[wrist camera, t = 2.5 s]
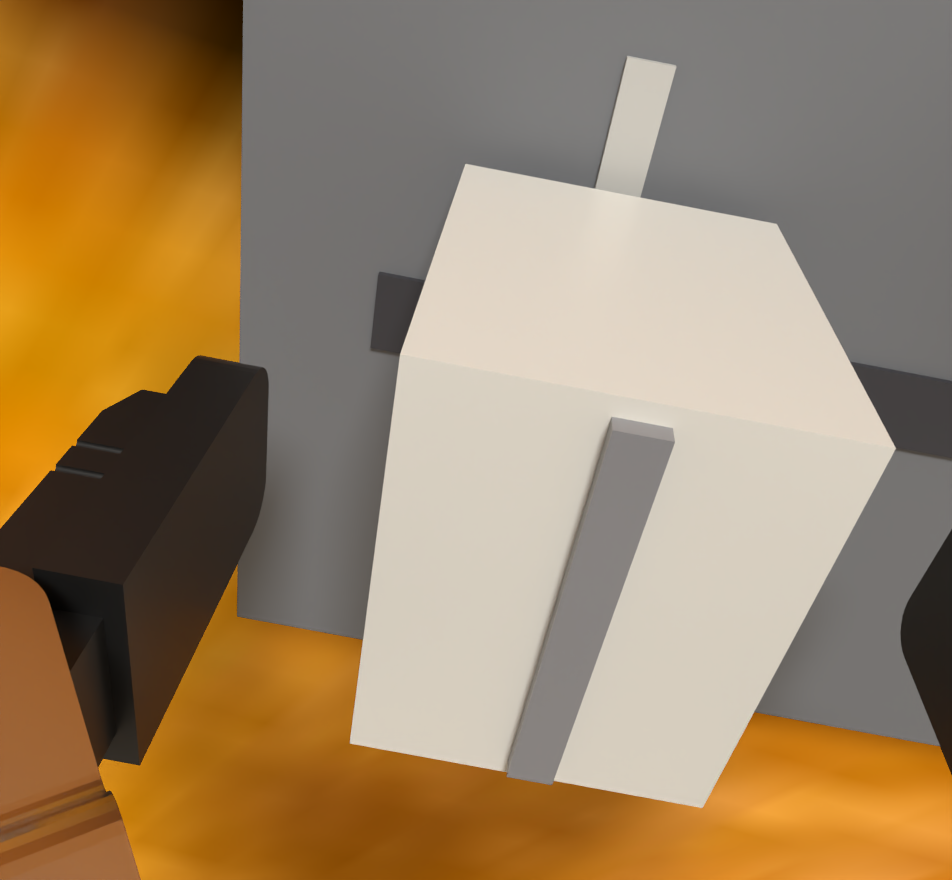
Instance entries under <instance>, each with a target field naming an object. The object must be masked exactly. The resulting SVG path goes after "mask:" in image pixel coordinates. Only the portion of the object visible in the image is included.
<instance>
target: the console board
mask: <svg viewBox="0 0 952 880" xmlns="http://www.w3.org/2000/svg"><path fill="white" fill-rule="evenodd" d="M465 164H469V165H475V166H480V167H485V168H490V169H495V170H501V171H506V172H511V173H516V174H521V175H526V176H532V177H537V178H542V179H547V180H552V181H557V182H563V183H568V184H573V185H578V186H583V187H588V188H594V189H599V190H604V191H609V192H614V193H620V194H625V195H630V196H635V197H640V198H645V199H651V200H656V201H661V202H666V203H671V204H676V205H682V206H687V207H692V208H697V209H702V210H707V211H713V212H718V213H723V214H728V215H733V216H739V217H744V218H749V219H754V220H759V221H764V222H770V223H775V224H777V225H778V227H779V229H780V231H781V233H782V235H783V237H784V238H785V240H786V242H787V244H788V246H789V248H790V250H791V252H792V254H793V255H794V257H795V259H796V261H797V263H798V265H799V267H800V269H801V270H802V272H803V274H804V276H805V278H806V280H807V282H808V284H809V286H810V287H811V289H812V291H813V293H814V295H815V297H816V299H817V301H818V302H819V304H820V306H821V308H822V310H823V312H824V314H825V316H826V318H827V319H828V321H829V323H830V325H831V327H832V329H833V331H834V333H835V335H836V336H837V338H838V340H839V342H840V344H841V346H842V348H843V350H844V351H845V353H846V355H847V357H848V359H849V361H850V363H851V365H852V367H853V368H854V370H855V372H856V374H857V376H858V378H859V380H860V382H861V383H862V385H863V387H864V389H865V391H866V393H867V395H868V397H869V399H870V400H871V402H872V404H873V406H874V408H875V410H876V412H877V414H878V415H879V417H880V419H881V421H882V423H883V425H884V427H885V429H886V431H887V432H888V434H889V436H890V438H891V440H892V442H893V444H894V446H895V448H896V449H895V451H894V453H893V455H892V457H891V459H890V461H889V462H888V464H887V466H886V468H885V470H884V472H883V474H882V475H881V477H880V479H879V481H878V483H877V485H876V487H875V488H874V490H873V492H872V494H871V496H870V498H869V500H868V501H867V503H866V505H865V507H864V509H863V511H862V513H861V514H860V516H859V518H858V520H857V522H856V524H855V526H854V527H853V529H852V531H851V533H850V535H849V537H848V539H847V540H846V542H845V544H844V546H843V548H842V550H841V552H840V553H839V555H838V557H837V559H836V561H835V563H834V565H833V566H832V568H831V570H830V572H829V574H828V576H827V578H826V579H825V581H824V583H823V585H822V587H821V589H820V591H819V592H818V594H817V596H816V598H815V600H814V602H813V604H812V605H811V607H810V609H809V611H808V613H807V615H806V617H805V618H804V620H803V622H802V624H801V626H800V628H799V630H798V631H797V633H796V635H795V637H794V639H793V641H792V643H791V644H790V646H789V648H788V650H787V652H786V654H785V656H784V657H783V659H782V661H781V663H780V665H779V667H778V669H777V670H776V672H775V674H774V676H773V678H772V680H771V682H770V683H769V685H768V687H767V689H766V691H765V693H764V695H763V696H762V698H761V700H760V702H759V704H758V706H757V708H756V709H755V711H754V712H757V713H763V714H768V715H773V716H779V717H784V718H790V719H795V720H801V721H806V722H811V723H817V724H822V725H828V726H833V727H838V728H844V729H849V730H855V731H860V732H865V733H871V734H876V735H882V736H887V737H893V738H898V739H903V740H909V741H914V742H920V743H925V744H930V745H936V746H940V745H939V742H938V740H937V737H936V735H935V732H934V730H933V727H932V725H931V722H930V720H929V717H928V715H927V712H926V710H925V707H924V705H923V702H922V700H921V698H920V695H919V693H918V690H917V688H916V685H915V683H914V680H913V678H912V675H911V673H910V670H909V668H908V665H907V663H906V660H905V658H904V655H903V652H902V647H901V637H900V631H901V622H902V616H903V613H904V609H905V607H906V604H907V602H908V600H909V598H910V597H911V595H912V593H913V592H914V590H915V589H916V587H917V585H918V584H919V582H920V580H921V579H922V577H923V575H924V574H925V572H926V571H927V569H928V567H929V566H930V564H931V562H932V561H933V559H934V557H935V556H936V554H937V552H938V551H939V549H940V548H941V546H942V544H943V543H944V541H945V539H946V538H947V536H948V534H949V533H950V531H951V529H952V0H243V82H242V184H241V286H240V363H243V364H248V365H253V366H259V367H263V368H265V369H266V371H267V373H268V380H269V398H268V431H267V464H266V484H265V491H264V497H263V502H262V506H261V510H260V514H259V517H258V520H257V523H256V526H255V528H254V531H253V533H252V535H251V537H250V539H249V541H248V543H247V545H246V547H245V549H244V552H243V554H242V556H241V558H240V560H239V562H238V591H237V616H238V617H243V618H248V619H254V620H259V621H265V622H270V623H275V624H281V625H286V626H292V627H297V628H303V629H308V630H313V631H319V632H324V633H330V634H335V635H340V636H346V637H351V638H357V639H362V640H363V636H364V629H365V621H366V613H367V606H368V598H369V590H370V582H371V575H372V567H373V559H374V552H375V544H376V536H377V528H378V521H379V513H380V505H381V498H382V490H383V482H384V474H385V467H386V459H387V451H388V444H389V436H390V428H391V420H392V413H393V405H394V397H395V390H396V382H397V374H398V366H399V359H400V353H401V350H402V347H403V344H404V341H405V338H406V336H407V333H408V330H409V327H410V324H411V321H412V318H413V315H414V312H415V309H416V306H417V304H418V301H419V298H420V295H421V292H422V289H423V286H424V283H425V280H426V277H427V274H428V271H429V269H430V266H431V263H432V260H433V257H434V254H435V251H436V248H437V245H438V242H439V239H440V236H441V234H442V231H443V228H444V225H445V222H446V219H447V216H448V213H449V210H450V207H451V204H452V201H453V199H454V196H455V193H456V190H457V187H458V184H459V181H460V178H461V175H462V172H463V169H464V167H465Z"/></svg>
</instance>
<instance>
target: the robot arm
mask: <svg viewBox="0 0 952 880" xmlns="http://www.w3.org/2000/svg"><path fill="white" fill-rule="evenodd" d="M268 398H269V380H268V373H267V371H266V369H265V368H263V367H259V366H253V365H248V364H243V363H238V362H232V361H227V360H222V359H216V358H211V357H206V356H201V355H200V356H197V357H195V358H194V359H193V360H192V361H191V362H190V364H189V365H188V366H187V368H186V369H185V370H184V372H183V373H182V374H181V375H180V377H179V378H178V379H177V381H176V382H175V383H174V384H173V386H172V387H171V388H170V390H169V391H168V392H167V394H163V393H158V392H153V391H147V390H140V391H139V392H137V393H135V394H133V395H131V396H129V397H127V398H125V399H124V400H122V401H120V402H118V403H116V404H114V405H112V406H110V407H108V408H107V409H105V410H103V411H102V412H101V413H100V414H99V415H98V416H97V417H96V419H95V420H94V421H93V422H92V423H91V424H90V426H89V427H88V428H87V429H86V430H85V431H84V432H83V434H82V435H81V436H80V437H79V438H78V439H77V444H76V446H71V448H70V449H69V450H68V451H67V452H66V453H65V454H64V456H63V457H62V458H61V459H60V460H59V461H58V463H57V464H56V469H55V471H50V472H49V473H48V474H47V475H46V477H45V478H44V479H43V480H42V481H41V482H40V483H39V485H38V486H37V487H36V488H35V489H34V490H33V492H32V493H31V494H30V495H29V496H28V497H27V499H26V500H25V501H24V502H23V503H22V504H21V505H20V507H19V508H18V509H17V510H16V511H15V512H14V514H13V515H12V516H11V517H10V518H9V519H8V521H7V522H6V523H5V524H4V525H3V526H2V527H1V529H0V880H141V879H140V876H139V873H138V869H137V866H136V863H135V859H134V856H133V853H132V849H131V846H130V843H129V839H128V836H127V833H126V830H125V826H124V823H123V820H122V817H121V814H120V811H119V808H118V806H117V803H116V800H115V798H114V796H113V794H112V792H111V791H108V792H106V791H105V788H104V785H103V783H102V780H101V776H100V773H99V770H98V767H99V765H100V763H101V761H102V759H108V760H114V761H119V762H124V763H130V764H135V765H140V764H141V762H142V760H143V758H144V756H145V754H146V751H147V749H148V747H149V745H150V743H151V741H152V739H153V737H154V735H155V733H156V731H157V729H158V727H159V725H160V723H161V721H162V719H163V716H164V714H165V712H166V710H167V708H168V706H169V704H170V702H171V700H172V698H173V696H174V694H175V692H176V690H177V688H178V686H179V683H180V681H181V679H182V677H183V675H184V673H185V671H186V669H187V667H188V665H189V663H190V661H191V659H192V657H193V655H194V653H195V650H196V648H197V646H198V644H199V642H200V640H201V638H202V636H203V634H204V632H205V630H206V628H207V626H208V624H209V622H210V620H211V618H212V615H213V613H214V611H215V609H216V607H217V605H218V603H219V601H220V599H221V597H222V595H223V593H224V591H225V589H226V587H227V585H228V582H229V580H230V578H231V576H232V574H233V572H234V570H235V568H236V566H237V564H238V562H239V560H240V558H241V556H242V554H243V552H244V549H245V547H246V545H247V543H248V541H249V539H250V537H251V535H252V533H253V531H254V528H255V526H256V523H257V520H258V517H259V514H260V510H261V506H262V502H263V497H264V491H265V484H266V464H267V431H268ZM900 637H901V647H902V652H903V655H904V658H905V660H906V663H907V665H908V668H909V670H910V673H911V675H912V678H913V680H914V683H915V685H916V688H917V690H918V693H919V695H920V698H921V700H922V702H923V705H924V707H925V710H926V712H927V715H928V717H929V720H930V722H931V725H932V727H933V730H934V732H935V735H936V737H937V740H938V742H939V745H940V747H941V750H942V752H943V754H944V757H945V759H946V762H947V764H948V767H949V769H950V772H951V774H952V529H951V531H950V533H949V534H948V536H947V538H946V539H945V541H944V543H943V544H942V546H941V548H940V549H939V551H938V552H937V554H936V556H935V557H934V559H933V561H932V562H931V564H930V566H929V567H928V569H927V571H926V572H925V574H924V575H923V577H922V579H921V580H920V582H919V584H918V585H917V587H916V589H915V590H914V592H913V593H912V595H911V597H910V598H909V600H908V602H907V604H906V607H905V609H904V613H903V616H902V622H901V631H900Z"/></svg>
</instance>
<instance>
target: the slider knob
mask: <svg viewBox="0 0 952 880" xmlns="http://www.w3.org/2000/svg"><path fill="white" fill-rule="evenodd" d="M895 449H896V448H895V446H894V444H893V442H892V440H891V438H890V436H889V434H888V432H887V431H886V429H885V427H884V425H883V423H882V421H881V419H880V417H879V415H878V414H877V412H876V410H875V408H874V406H873V404H872V402H871V400H870V399H869V397H868V395H867V393H866V391H865V389H864V387H863V385H862V383H861V382H860V380H859V378H858V376H857V374H856V372H855V370H854V368H853V367H852V365H851V363H850V361H849V359H848V357H847V355H846V353H845V351H844V350H843V348H842V346H841V344H840V342H839V340H838V338H837V336H836V335H835V333H834V331H833V329H832V327H831V325H830V323H829V321H828V319H827V318H826V316H825V314H824V312H823V310H822V308H821V306H820V304H819V302H818V301H817V299H816V297H815V295H814V293H813V291H812V289H811V287H810V286H809V284H808V282H807V280H806V278H805V276H804V274H803V272H802V270H801V269H800V267H799V265H798V263H797V261H796V259H795V257H794V255H793V254H792V252H791V250H790V248H789V246H788V244H787V242H786V240H785V238H784V237H783V235H782V233H781V231H780V229H779V227H778V225H777V224H775V223H770V222H764V221H759V220H754V219H749V218H744V217H739V216H733V215H728V214H723V213H718V212H713V211H707V210H702V209H697V208H692V207H687V206H682V205H676V204H671V203H666V202H661V201H656V200H651V199H645V198H640V197H635V196H630V195H625V194H620V193H614V192H609V191H604V190H599V189H594V188H588V187H583V186H578V185H573V184H568V183H563V182H557V181H552V180H547V179H542V178H537V177H532V176H526V175H521V174H516V173H511V172H506V171H501V170H495V169H490V168H485V167H480V166H475V165H469V164H465V167H464V169H463V172H462V175H461V178H460V181H459V184H458V187H457V190H456V193H455V196H454V199H453V201H452V204H451V207H450V210H449V213H448V216H447V219H446V222H445V225H444V228H443V231H442V234H441V236H440V239H439V242H438V245H437V248H436V251H435V254H434V257H433V260H432V263H431V266H430V269H429V271H428V274H427V277H426V280H425V283H424V286H423V289H422V292H421V295H420V298H419V301H418V304H417V306H416V309H415V312H414V315H413V318H412V321H411V324H410V327H409V330H408V333H407V336H406V338H405V341H404V344H403V347H402V350H401V353H400V359H399V366H398V374H397V382H396V390H395V397H394V405H393V413H392V420H391V428H390V436H389V444H388V451H387V459H386V467H385V474H384V482H383V490H382V498H381V505H380V513H379V521H378V528H377V536H376V544H375V552H374V559H373V567H372V575H371V582H370V590H369V598H368V606H367V613H366V621H365V629H364V636H363V644H362V652H361V660H360V667H359V675H358V683H357V690H356V698H355V706H354V714H353V721H352V729H351V737H350V744H356V745H361V746H367V747H372V748H377V749H383V750H388V751H394V752H399V753H405V754H410V755H416V756H421V757H427V758H432V759H438V760H443V761H449V762H454V763H459V764H465V765H470V766H476V767H481V768H487V769H492V770H498V771H503V772H507V777H510V778H516V779H521V780H527V781H532V782H537V783H543V784H548V785H552V784H553V781H558V782H563V783H569V784H574V785H580V786H585V787H591V788H596V789H602V790H607V791H613V792H618V793H623V794H629V795H634V796H640V797H645V798H651V799H656V800H662V801H667V802H673V803H678V804H684V805H689V806H695V807H700V808H703V806H704V804H705V802H706V801H707V799H708V797H709V795H710V793H711V791H712V789H713V788H714V786H715V784H716V782H717V780H718V778H719V776H720V775H721V773H722V771H723V769H724V767H725V765H726V763H727V762H728V760H729V758H730V756H731V754H732V752H733V750H734V749H735V747H736V745H737V743H738V741H739V739H740V737H741V735H742V734H743V732H744V730H745V728H746V726H747V724H748V722H749V721H750V719H751V717H752V715H753V713H754V711H755V709H756V708H757V706H758V704H759V702H760V700H761V698H762V696H763V695H764V693H765V691H766V689H767V687H768V685H769V683H770V682H771V680H772V678H773V676H774V674H775V672H776V670H777V669H778V667H779V665H780V663H781V661H782V659H783V657H784V656H785V654H786V652H787V650H788V648H789V646H790V644H791V643H792V641H793V639H794V637H795V635H796V633H797V631H798V630H799V628H800V626H801V624H802V622H803V620H804V618H805V617H806V615H807V613H808V611H809V609H810V607H811V605H812V604H813V602H814V600H815V598H816V596H817V594H818V592H819V591H820V589H821V587H822V585H823V583H824V581H825V579H826V578H827V576H828V574H829V572H830V570H831V568H832V566H833V565H834V563H835V561H836V559H837V557H838V555H839V553H840V552H841V550H842V548H843V546H844V544H845V542H846V540H847V539H848V537H849V535H850V533H851V531H852V529H853V527H854V526H855V524H856V522H857V520H858V518H859V516H860V514H861V513H862V511H863V509H864V507H865V505H866V503H867V501H868V500H869V498H870V496H871V494H872V492H873V490H874V488H875V487H876V485H877V483H878V481H879V479H880V477H881V475H882V474H883V472H884V470H885V468H886V466H887V464H888V462H889V461H890V459H891V457H892V455H893V453H894V451H895Z"/></svg>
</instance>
